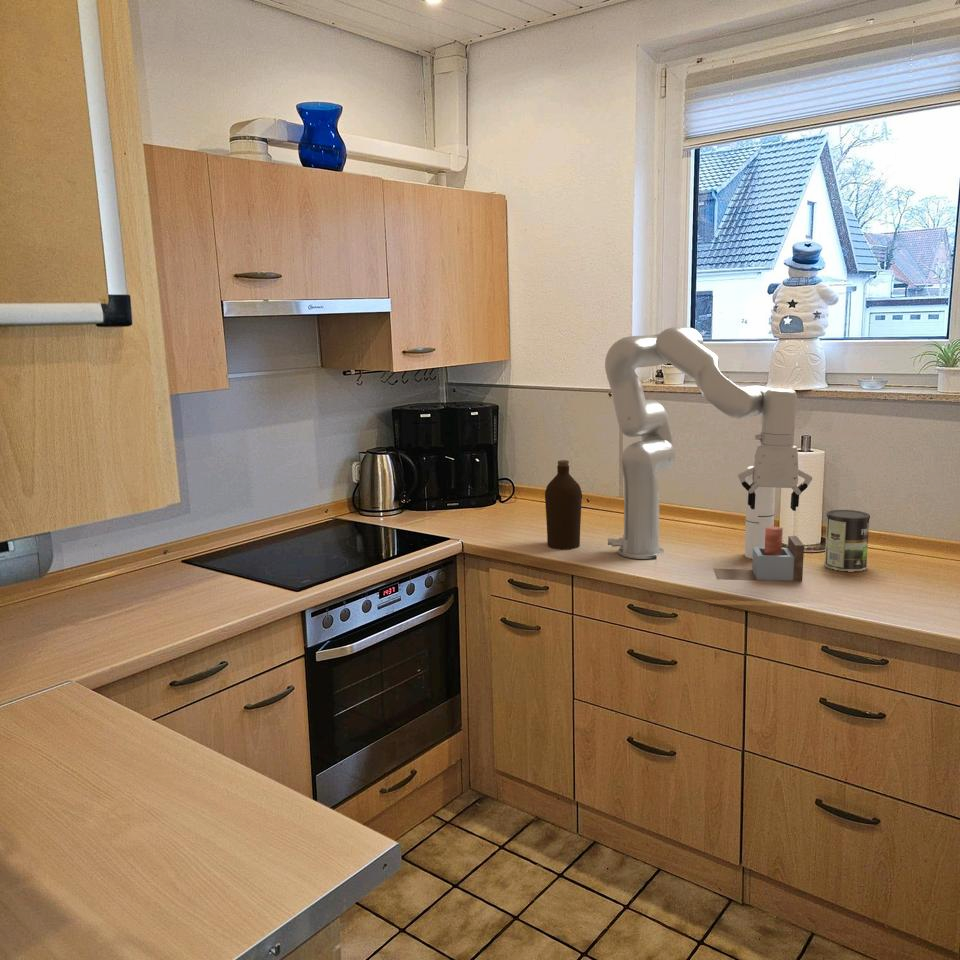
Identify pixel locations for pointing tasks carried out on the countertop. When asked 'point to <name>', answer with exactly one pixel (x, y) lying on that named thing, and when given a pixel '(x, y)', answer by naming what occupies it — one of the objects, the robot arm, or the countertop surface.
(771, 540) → the dowel
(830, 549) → the coffee can
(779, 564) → the socket block
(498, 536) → the countertop surface
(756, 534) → the cylindrical container
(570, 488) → the olive oil
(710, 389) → the robot arm
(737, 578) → the rail
